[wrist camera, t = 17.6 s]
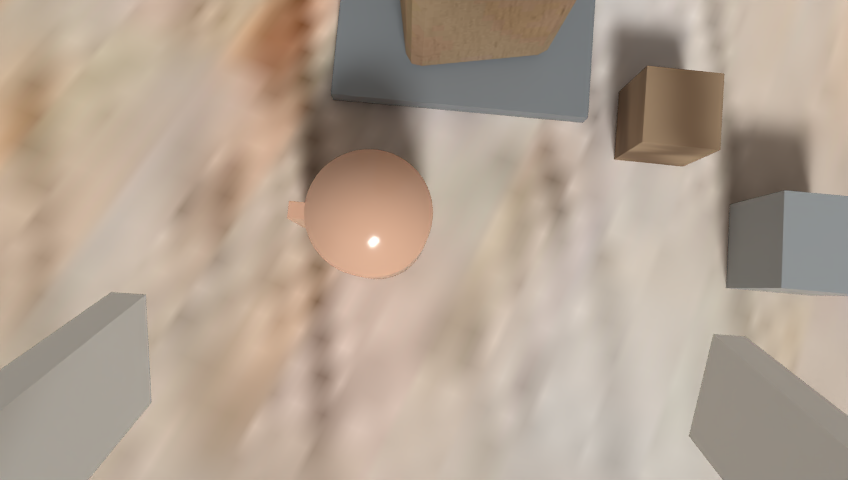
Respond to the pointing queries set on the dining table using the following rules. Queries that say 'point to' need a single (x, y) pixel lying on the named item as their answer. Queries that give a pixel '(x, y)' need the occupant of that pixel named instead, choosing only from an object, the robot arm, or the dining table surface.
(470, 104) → the slate grey board
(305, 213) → the peach rounded cylinder
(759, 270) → the blue grey box
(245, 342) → the dining table surface
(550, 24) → the wooden block
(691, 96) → the walnut cube
